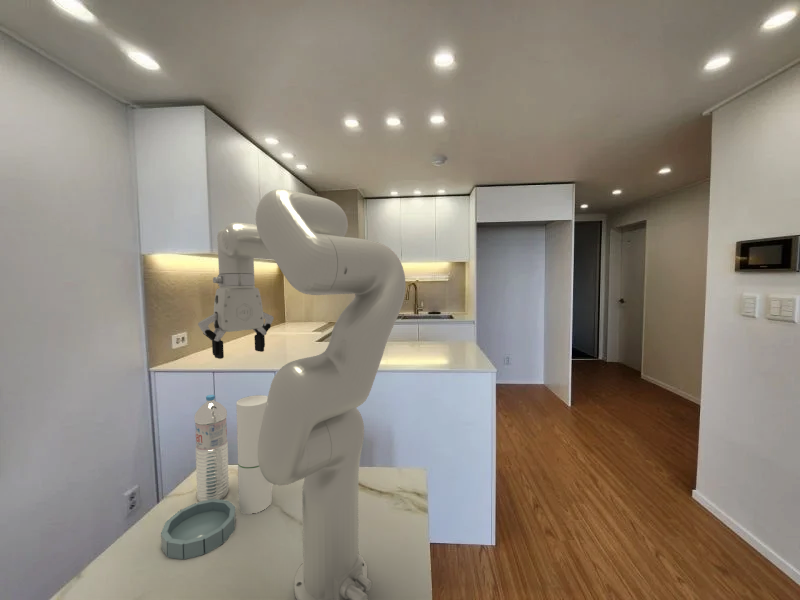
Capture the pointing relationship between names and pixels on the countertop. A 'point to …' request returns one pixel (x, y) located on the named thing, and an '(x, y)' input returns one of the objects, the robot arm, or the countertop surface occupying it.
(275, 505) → the countertop surface
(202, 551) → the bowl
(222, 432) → the water bottle
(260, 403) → the cylindrical container
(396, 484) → the countertop surface
